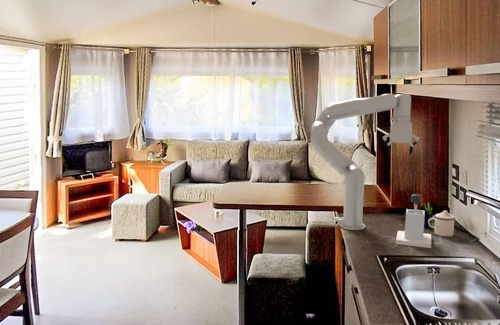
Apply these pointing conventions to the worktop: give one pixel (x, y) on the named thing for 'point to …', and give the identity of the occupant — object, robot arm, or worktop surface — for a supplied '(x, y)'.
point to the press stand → (414, 230)
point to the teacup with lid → (443, 224)
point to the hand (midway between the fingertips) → (399, 153)
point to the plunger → (416, 199)
